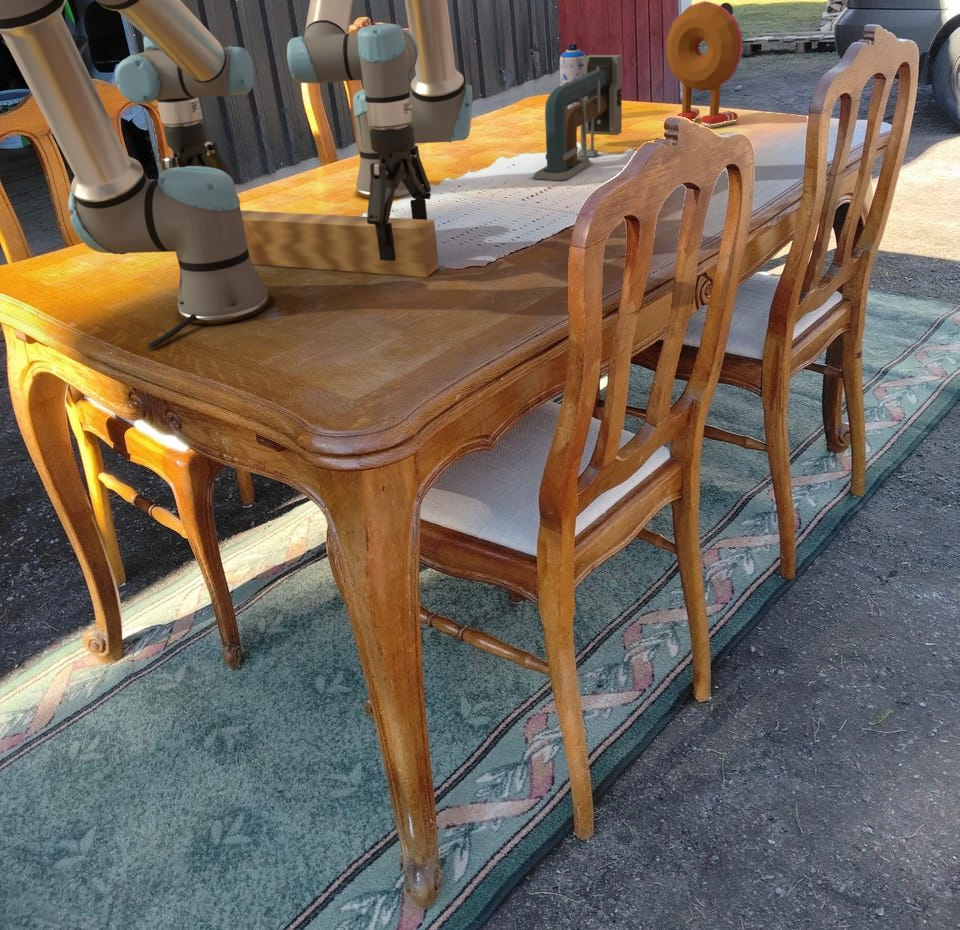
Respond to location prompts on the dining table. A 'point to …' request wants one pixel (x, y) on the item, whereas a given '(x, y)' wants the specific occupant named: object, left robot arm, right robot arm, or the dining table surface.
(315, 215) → the beam
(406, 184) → the right robot arm
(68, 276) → the dining table surface
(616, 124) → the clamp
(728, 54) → the toy
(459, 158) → the dining table surface
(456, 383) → the dining table surface
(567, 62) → the aerosol can
